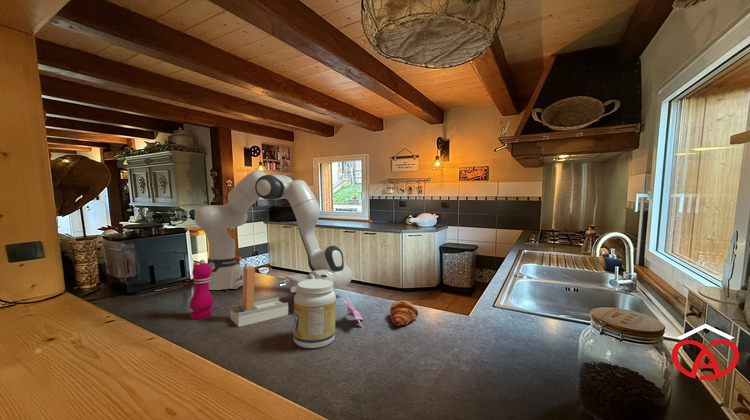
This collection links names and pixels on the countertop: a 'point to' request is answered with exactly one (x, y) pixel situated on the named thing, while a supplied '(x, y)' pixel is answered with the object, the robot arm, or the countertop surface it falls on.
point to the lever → (248, 289)
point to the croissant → (403, 312)
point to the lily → (352, 311)
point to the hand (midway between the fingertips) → (284, 287)
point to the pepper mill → (201, 292)
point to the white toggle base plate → (259, 312)
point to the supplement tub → (314, 313)
